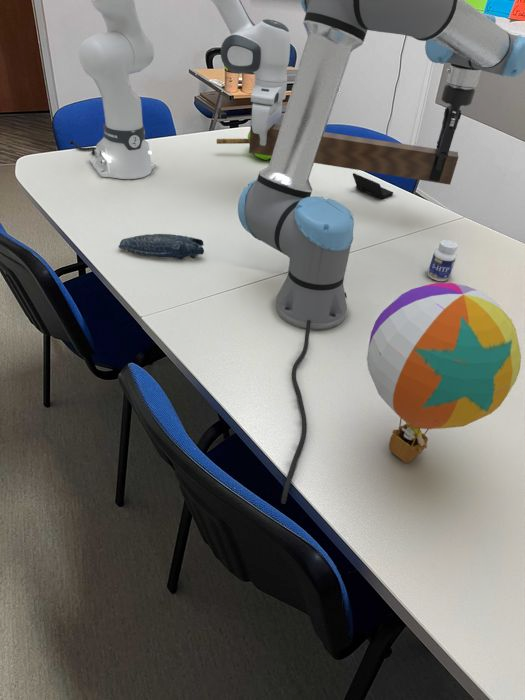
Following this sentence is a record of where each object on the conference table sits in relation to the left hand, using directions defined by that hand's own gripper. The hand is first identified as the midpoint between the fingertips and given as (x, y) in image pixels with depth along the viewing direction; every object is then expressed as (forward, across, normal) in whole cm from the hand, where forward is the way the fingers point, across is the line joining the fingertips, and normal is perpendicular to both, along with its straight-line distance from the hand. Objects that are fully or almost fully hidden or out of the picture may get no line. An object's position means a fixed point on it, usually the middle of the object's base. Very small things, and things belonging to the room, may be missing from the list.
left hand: (265, 141), depth 151 cm
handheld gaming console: (+16, -16, +32) cm, 40 cm away
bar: (+3, 0, +25) cm, 25 cm away
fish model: (+16, +47, -13) cm, 51 cm away
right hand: (+2, 0, +49) cm, 49 cm away
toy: (+15, +92, +48) cm, 105 cm away
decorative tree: (+16, -34, -11) cm, 39 cm away
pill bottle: (+15, +32, +54) cm, 64 cm away
